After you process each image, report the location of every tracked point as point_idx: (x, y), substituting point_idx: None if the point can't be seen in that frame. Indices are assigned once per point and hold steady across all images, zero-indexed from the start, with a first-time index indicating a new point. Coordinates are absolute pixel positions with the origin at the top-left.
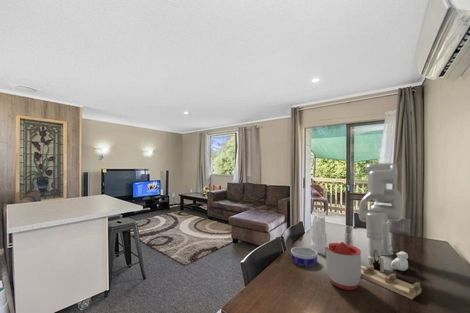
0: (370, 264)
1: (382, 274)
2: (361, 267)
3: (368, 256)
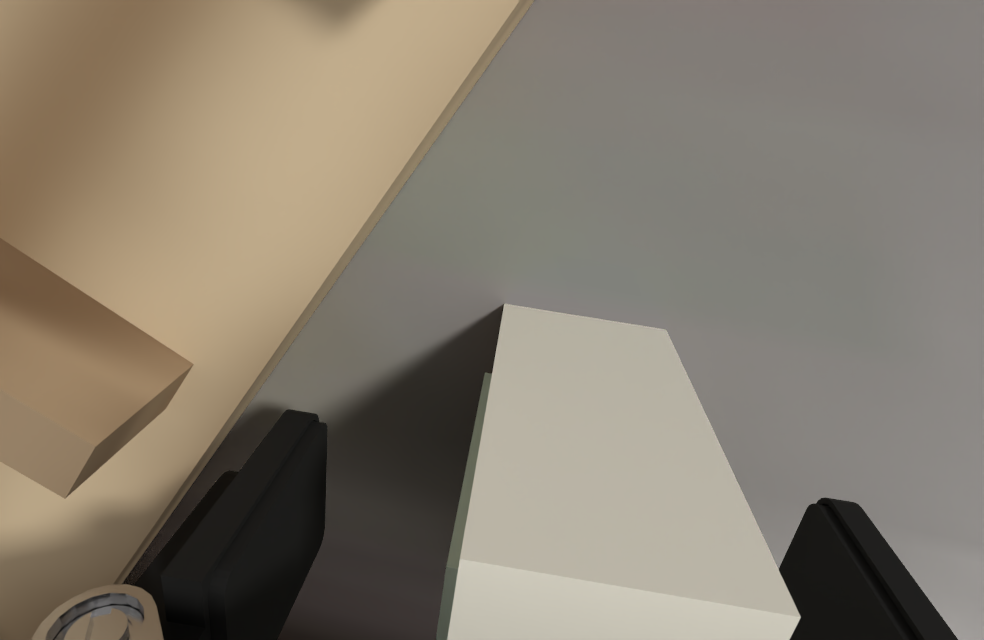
0: (481, 422)
1: (49, 525)
2: (192, 73)
3: (611, 600)
